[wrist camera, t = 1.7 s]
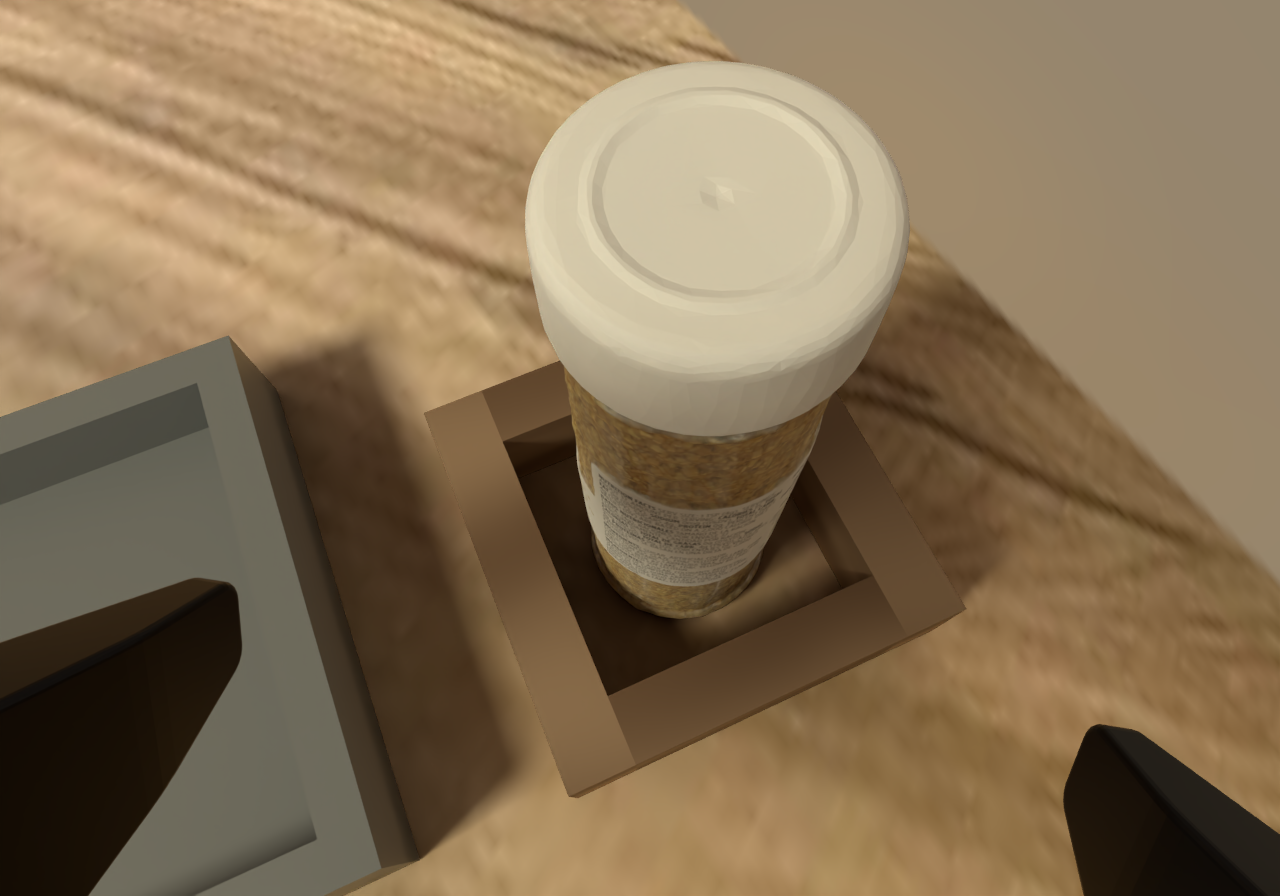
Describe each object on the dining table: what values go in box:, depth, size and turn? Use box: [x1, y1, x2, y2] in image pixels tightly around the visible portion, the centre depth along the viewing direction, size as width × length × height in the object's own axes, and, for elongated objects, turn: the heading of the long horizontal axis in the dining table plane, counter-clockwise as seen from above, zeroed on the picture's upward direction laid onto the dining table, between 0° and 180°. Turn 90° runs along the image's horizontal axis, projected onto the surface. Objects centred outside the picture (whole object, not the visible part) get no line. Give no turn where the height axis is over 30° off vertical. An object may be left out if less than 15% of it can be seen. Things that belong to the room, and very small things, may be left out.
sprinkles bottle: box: [525, 61, 910, 619], centre depth 16 cm, size 5×5×14 cm
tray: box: [0, 336, 420, 896], centre depth 19 cm, size 13×13×3 cm
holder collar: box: [424, 361, 966, 798], centre depth 21 cm, size 10×10×2 cm
